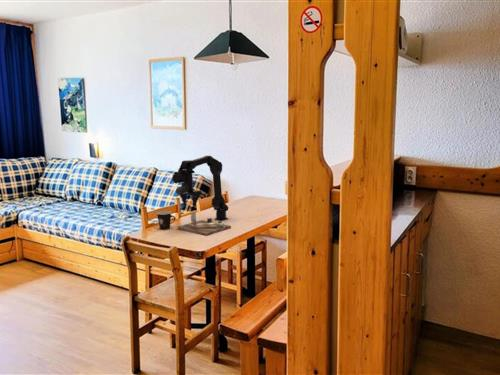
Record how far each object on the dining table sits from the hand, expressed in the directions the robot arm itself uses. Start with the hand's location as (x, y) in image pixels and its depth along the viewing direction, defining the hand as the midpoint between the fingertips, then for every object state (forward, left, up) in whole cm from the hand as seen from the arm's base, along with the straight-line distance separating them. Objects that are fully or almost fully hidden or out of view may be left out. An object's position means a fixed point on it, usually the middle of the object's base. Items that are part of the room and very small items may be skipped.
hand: (189, 205), depth 275 cm
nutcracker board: (-5, +8, -15) cm, 17 cm away
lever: (-3, +12, -12) cm, 17 cm away
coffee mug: (+9, -12, -15) cm, 22 cm away
